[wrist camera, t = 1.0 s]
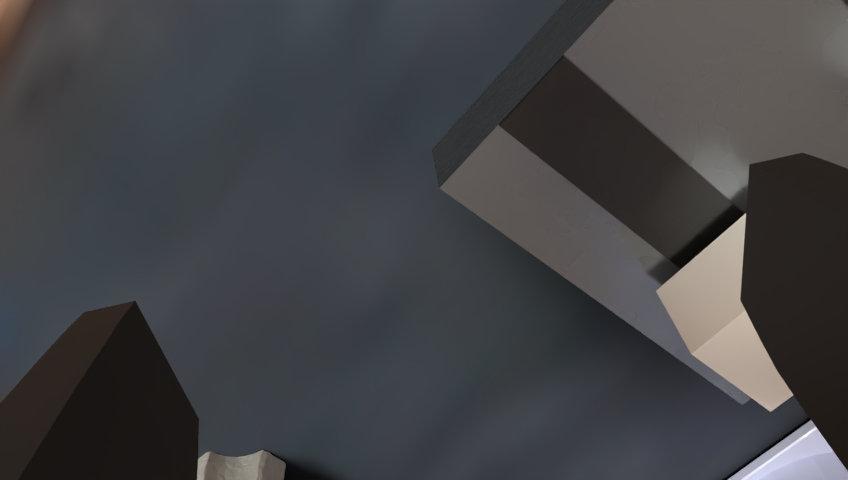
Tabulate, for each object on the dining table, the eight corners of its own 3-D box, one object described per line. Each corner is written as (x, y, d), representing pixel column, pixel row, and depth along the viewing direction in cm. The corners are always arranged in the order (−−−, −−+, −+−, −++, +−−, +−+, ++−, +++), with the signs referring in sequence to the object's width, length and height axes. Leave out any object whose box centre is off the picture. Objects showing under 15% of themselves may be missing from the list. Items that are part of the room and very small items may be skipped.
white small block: (840, 258, 19) (897, 317, 17) (729, 346, 20) (770, 411, 18) (768, 193, 18) (821, 248, 16) (655, 291, 19) (691, 354, 17)
